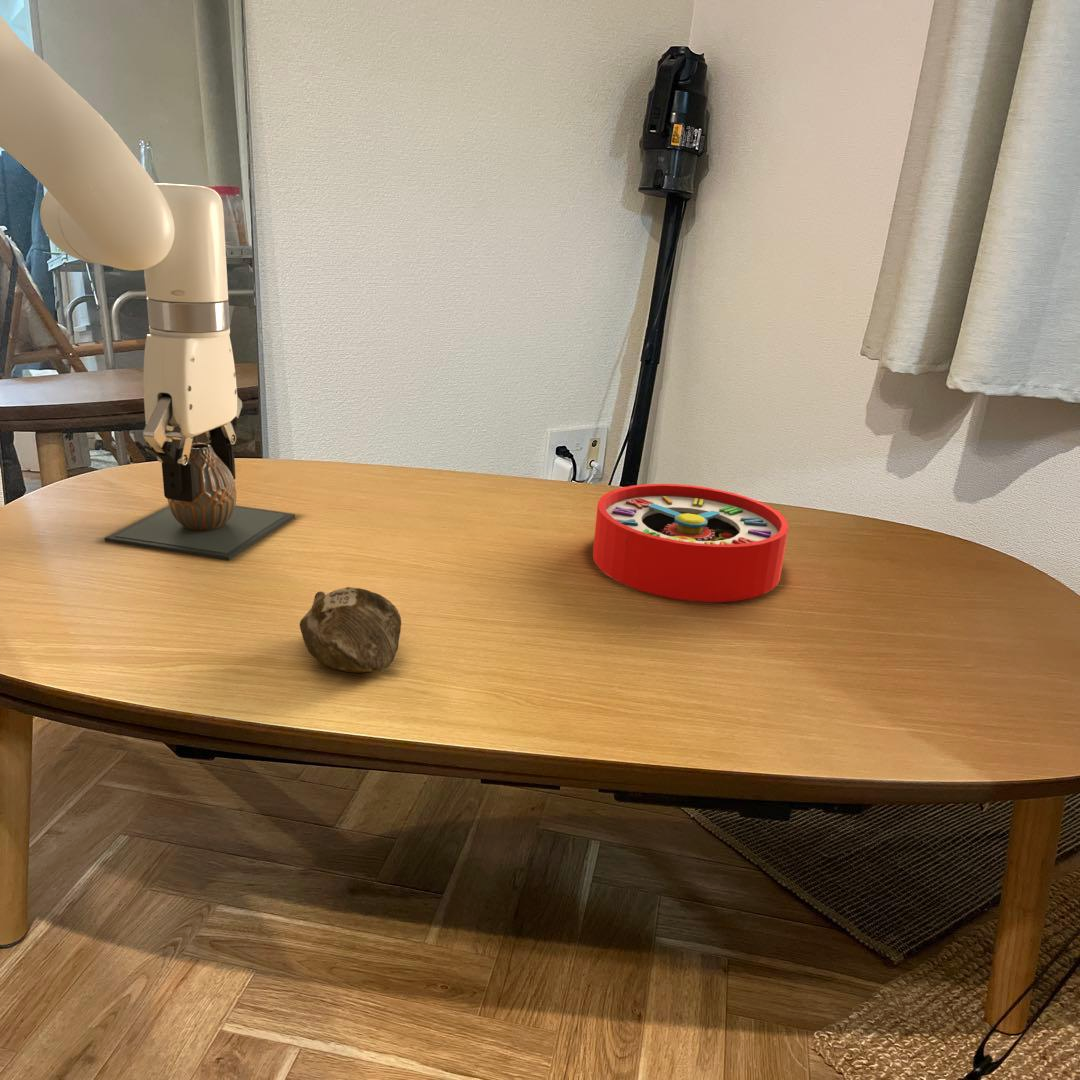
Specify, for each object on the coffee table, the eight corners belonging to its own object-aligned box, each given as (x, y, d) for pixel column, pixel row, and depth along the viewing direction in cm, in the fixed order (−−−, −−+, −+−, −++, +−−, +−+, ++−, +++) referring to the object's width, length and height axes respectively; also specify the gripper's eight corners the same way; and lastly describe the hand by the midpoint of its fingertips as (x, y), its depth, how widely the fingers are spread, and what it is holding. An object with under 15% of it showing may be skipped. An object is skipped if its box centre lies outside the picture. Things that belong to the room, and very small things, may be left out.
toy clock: (709, 562, 81) (558, 502, 95) (701, 620, 83) (554, 553, 97) (826, 522, 94) (678, 474, 108) (816, 573, 96) (672, 520, 110)
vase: (251, 523, 98) (247, 445, 95) (200, 541, 92) (194, 458, 89) (208, 509, 101) (203, 434, 98) (155, 525, 95) (148, 445, 92)
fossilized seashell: (303, 598, 77) (275, 673, 68) (341, 544, 74) (317, 614, 65) (379, 639, 79) (362, 716, 70) (419, 587, 76) (406, 661, 68)
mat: (104, 542, 92) (104, 537, 92) (184, 502, 105) (184, 497, 104) (229, 561, 89) (228, 556, 89) (295, 518, 102) (295, 513, 102)
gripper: (204, 306, 98) (214, 464, 104) (97, 323, 82) (116, 509, 88) (267, 312, 96) (274, 472, 102) (171, 331, 80) (185, 519, 87)
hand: (201, 487), depth 95 cm, fingers closed on vase, 6 cm apart
